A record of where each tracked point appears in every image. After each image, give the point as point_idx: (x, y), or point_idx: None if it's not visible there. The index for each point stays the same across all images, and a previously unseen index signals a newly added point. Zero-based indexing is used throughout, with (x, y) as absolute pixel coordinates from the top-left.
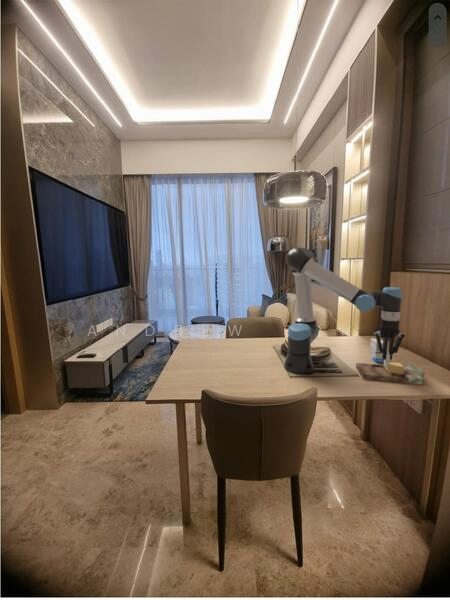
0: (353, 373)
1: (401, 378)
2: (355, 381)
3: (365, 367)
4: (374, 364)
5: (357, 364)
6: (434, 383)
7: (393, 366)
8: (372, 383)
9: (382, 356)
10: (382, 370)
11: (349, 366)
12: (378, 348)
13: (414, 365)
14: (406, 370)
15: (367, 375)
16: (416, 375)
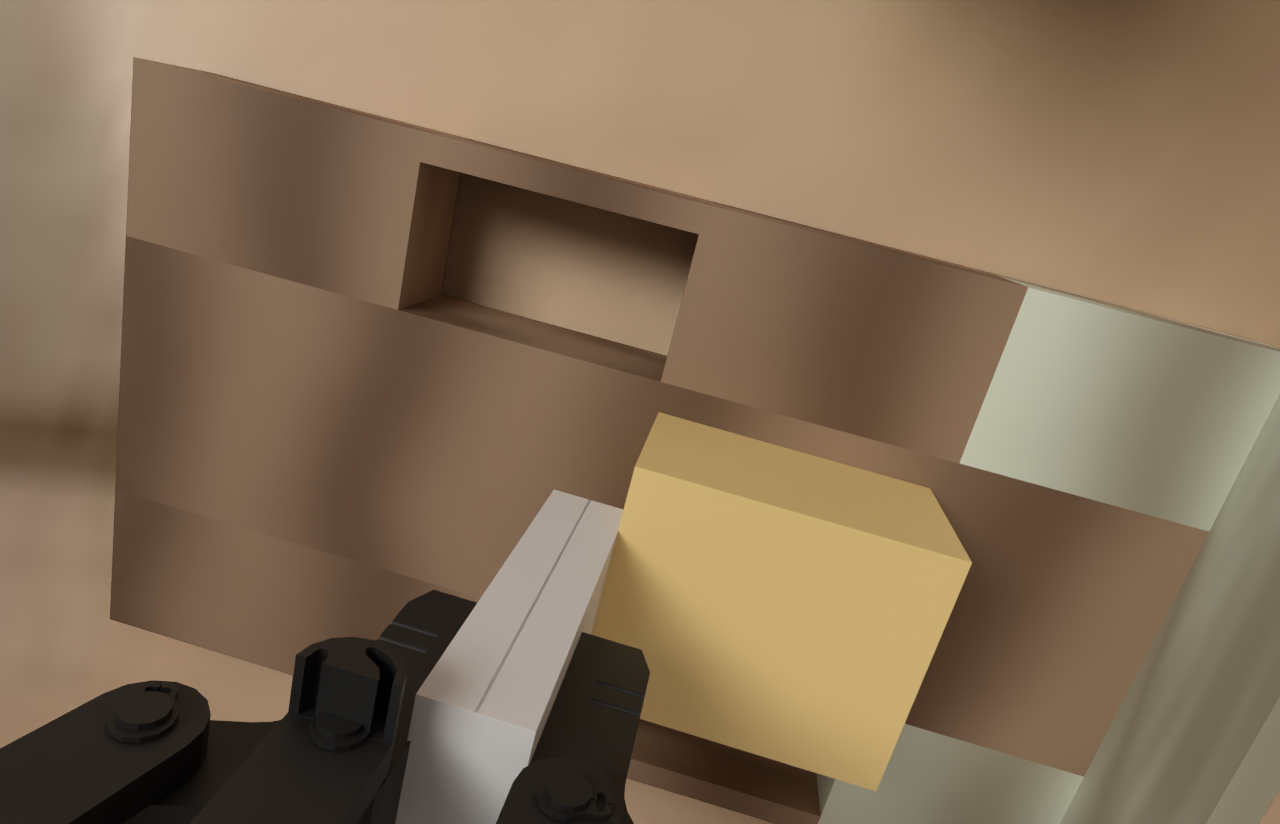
0: (88, 359)
1: (697, 788)
2: (46, 622)
3: (248, 336)
4: (526, 173)
5: (135, 161)
6: (1263, 820)
7: (648, 714)
8: (259, 701)
9: (390, 631)
10: (526, 503)
11: (97, 20)
12: (27, 772)
13: (1250, 736)
14: (1059, 545)
15: (178, 630)
16: (1064, 765)
